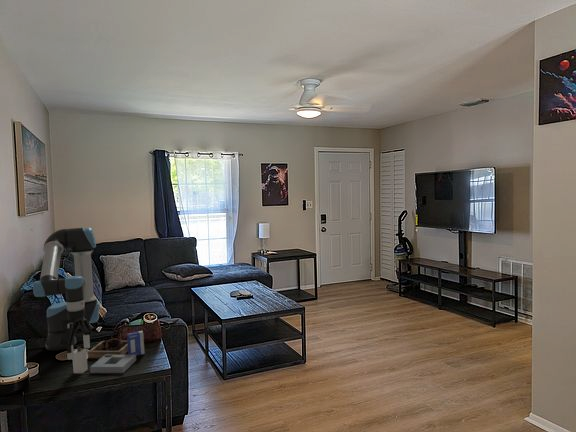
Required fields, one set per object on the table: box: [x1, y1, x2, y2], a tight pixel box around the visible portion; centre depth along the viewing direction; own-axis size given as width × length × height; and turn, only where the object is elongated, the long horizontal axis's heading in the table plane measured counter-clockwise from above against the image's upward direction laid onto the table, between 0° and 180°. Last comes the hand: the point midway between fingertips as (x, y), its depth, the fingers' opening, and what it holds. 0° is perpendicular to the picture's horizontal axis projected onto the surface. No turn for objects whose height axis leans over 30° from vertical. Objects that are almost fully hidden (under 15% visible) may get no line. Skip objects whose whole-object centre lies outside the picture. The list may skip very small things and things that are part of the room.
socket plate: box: [89, 354, 137, 374], centre depth 206 cm, size 14×16×4 cm
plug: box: [72, 345, 89, 374], centre depth 202 cm, size 4×4×12 cm
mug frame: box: [87, 340, 128, 359], centre depth 224 cm, size 15×17×4 cm
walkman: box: [126, 330, 146, 357], centre depth 219 cm, size 8×3×12 cm, turn 123°
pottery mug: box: [103, 338, 123, 351], centre depth 224 cm, size 12×10×8 cm
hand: (79, 353), depth 201 cm, fingers open, 13 cm apart
